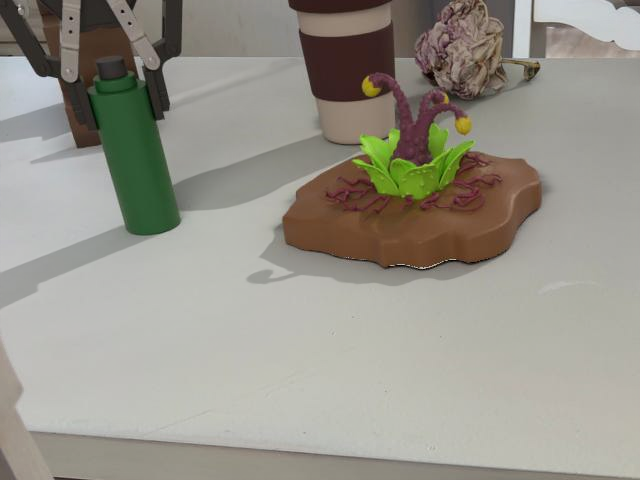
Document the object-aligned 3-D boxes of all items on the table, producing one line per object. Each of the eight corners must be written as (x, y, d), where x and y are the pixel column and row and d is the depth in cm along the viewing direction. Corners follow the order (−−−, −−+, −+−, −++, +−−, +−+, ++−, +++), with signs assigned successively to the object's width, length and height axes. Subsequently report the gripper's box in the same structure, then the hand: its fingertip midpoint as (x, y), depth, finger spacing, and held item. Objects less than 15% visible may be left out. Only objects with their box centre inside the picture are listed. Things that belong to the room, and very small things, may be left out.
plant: (359, 167, 94) (341, 35, 87) (563, 181, 88) (561, 41, 81) (251, 256, 80) (219, 107, 73) (485, 280, 74) (475, 120, 67)
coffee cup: (346, 114, 107) (324, -50, 97) (427, 123, 103) (412, -47, 93) (290, 144, 100) (260, -28, 91) (374, 155, 96) (352, -24, 87)
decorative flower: (510, 25, 115) (389, 14, 108) (558, -18, 106) (429, -33, 99) (521, 119, 116) (402, 114, 109) (570, 84, 107) (443, 76, 100)
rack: (156, 135, 105) (124, 12, 98) (77, 148, 103) (38, 24, 96) (143, 102, 115) (113, -12, 107) (70, 114, 113) (35, -2, 105)
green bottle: (149, 239, 84) (102, 70, 75) (115, 228, 86) (66, 63, 78) (192, 220, 86) (152, 55, 78) (157, 210, 89) (115, 48, 80)
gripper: (155, -149, 74) (208, 97, 85) (-52, -128, 71) (32, 125, 82) (167, -140, 69) (222, 121, 80) (-56, -117, 66) (34, 152, 77)
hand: (125, 122), depth 81 cm, fingers closed on green bottle, 4 cm apart
